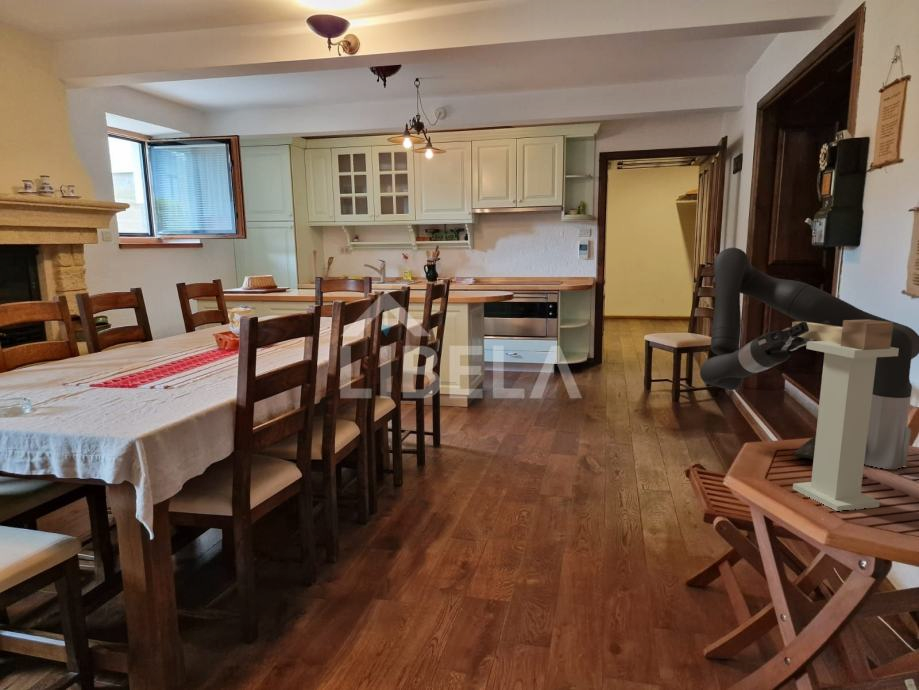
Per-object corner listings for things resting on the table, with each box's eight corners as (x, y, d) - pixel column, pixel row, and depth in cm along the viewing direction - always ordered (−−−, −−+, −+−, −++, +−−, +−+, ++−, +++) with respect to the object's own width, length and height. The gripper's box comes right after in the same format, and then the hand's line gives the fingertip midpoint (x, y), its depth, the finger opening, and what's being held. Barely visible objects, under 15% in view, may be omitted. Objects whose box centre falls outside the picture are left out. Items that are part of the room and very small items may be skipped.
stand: (792, 488, 119) (807, 341, 114) (832, 484, 121) (847, 339, 116) (836, 511, 109) (854, 350, 103) (879, 506, 111) (898, 348, 106)
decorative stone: (820, 469, 131) (822, 452, 130) (790, 461, 136) (792, 445, 135) (845, 452, 141) (846, 436, 141) (816, 446, 146) (818, 430, 146)
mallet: (785, 335, 122) (787, 313, 121) (808, 334, 123) (810, 312, 123) (863, 350, 104) (866, 323, 103) (890, 348, 105) (893, 322, 104)
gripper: (732, 339, 133) (783, 310, 117) (784, 337, 136) (840, 308, 120) (741, 369, 130) (794, 343, 115) (794, 366, 133) (852, 340, 117)
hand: (817, 325), depth 117 cm, fingers open, 5 cm apart
